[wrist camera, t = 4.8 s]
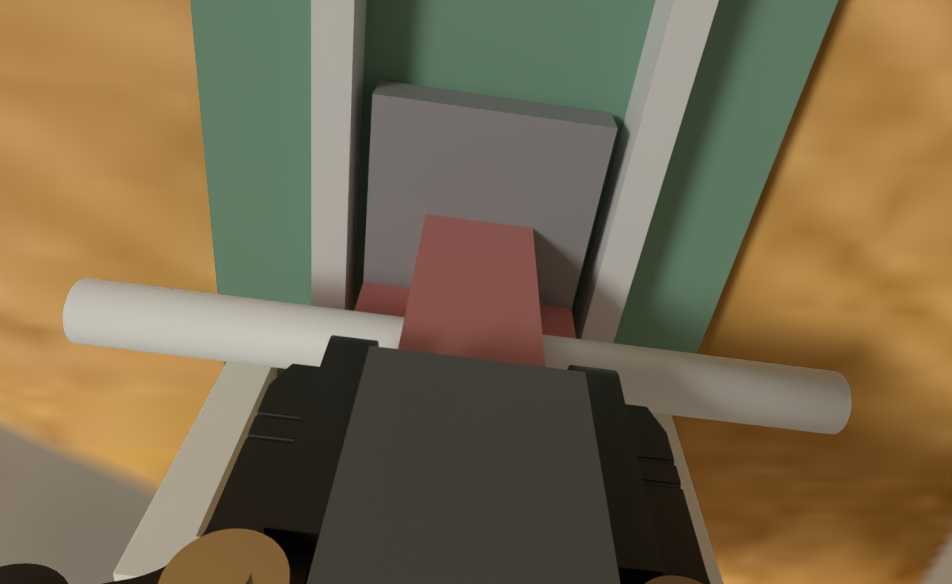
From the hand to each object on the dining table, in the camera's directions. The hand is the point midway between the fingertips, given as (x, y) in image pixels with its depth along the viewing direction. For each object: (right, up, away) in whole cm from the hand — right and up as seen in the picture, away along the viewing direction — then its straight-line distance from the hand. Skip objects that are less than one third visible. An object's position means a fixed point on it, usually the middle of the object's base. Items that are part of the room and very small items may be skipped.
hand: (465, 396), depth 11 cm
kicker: (0, +4, +6) cm, 7 cm away
